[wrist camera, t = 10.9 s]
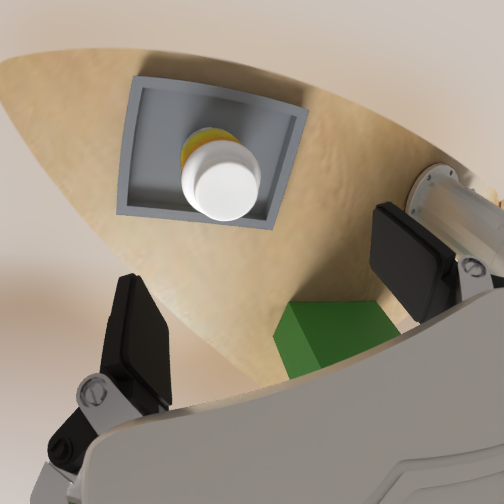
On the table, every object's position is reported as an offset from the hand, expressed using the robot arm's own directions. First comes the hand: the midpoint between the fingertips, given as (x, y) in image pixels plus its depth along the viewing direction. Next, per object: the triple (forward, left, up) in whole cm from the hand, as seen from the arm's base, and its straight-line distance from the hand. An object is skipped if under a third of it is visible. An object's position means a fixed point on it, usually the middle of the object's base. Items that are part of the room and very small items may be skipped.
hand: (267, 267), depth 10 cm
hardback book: (-12, +30, -19) cm, 37 cm away
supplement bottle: (0, 0, -18) cm, 18 cm away
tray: (0, 0, -19) cm, 19 cm away
